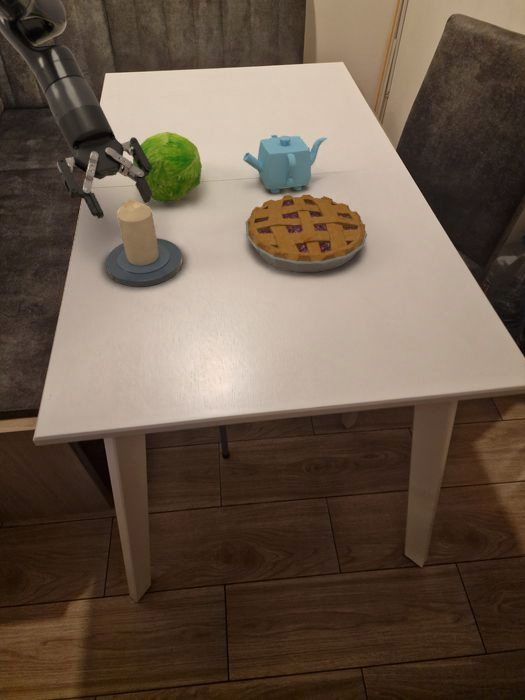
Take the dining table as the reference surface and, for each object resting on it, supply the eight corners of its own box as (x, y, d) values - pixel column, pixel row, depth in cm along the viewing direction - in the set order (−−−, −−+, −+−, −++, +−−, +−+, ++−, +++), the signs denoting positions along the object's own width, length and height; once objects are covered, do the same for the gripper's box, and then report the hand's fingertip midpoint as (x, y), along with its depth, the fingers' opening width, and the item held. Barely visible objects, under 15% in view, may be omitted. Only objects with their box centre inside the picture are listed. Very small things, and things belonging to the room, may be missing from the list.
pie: (341, 207, 99) (344, 184, 95) (382, 270, 84) (387, 245, 80) (235, 218, 95) (235, 195, 92) (258, 286, 80) (259, 261, 77)
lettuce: (208, 168, 111) (204, 113, 102) (201, 213, 97) (195, 153, 88) (147, 167, 111) (138, 113, 102) (132, 212, 97) (120, 153, 88)
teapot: (250, 202, 100) (250, 154, 93) (236, 172, 109) (234, 126, 102) (332, 192, 103) (338, 145, 96) (311, 164, 113) (315, 119, 105)
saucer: (103, 289, 79) (101, 283, 78) (110, 245, 88) (108, 239, 87) (183, 283, 81) (182, 276, 80) (181, 240, 90) (180, 234, 89)
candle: (165, 256, 84) (157, 203, 77) (139, 270, 81) (128, 216, 74) (146, 244, 86) (136, 192, 79) (120, 257, 84) (107, 204, 76)
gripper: (36, 113, 72) (87, 214, 74) (124, 94, 78) (168, 188, 80) (35, 138, 79) (82, 230, 81) (116, 118, 85) (157, 204, 87)
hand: (125, 209), depth 80 cm, fingers open, 8 cm apart
